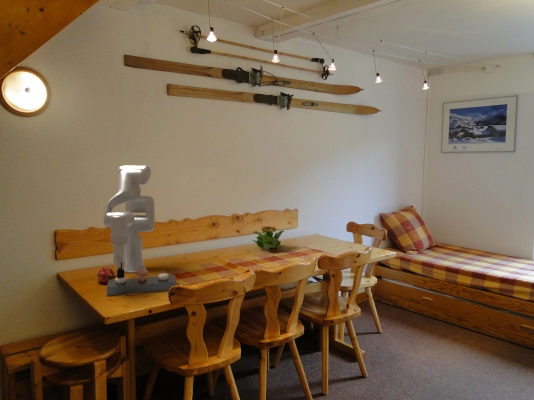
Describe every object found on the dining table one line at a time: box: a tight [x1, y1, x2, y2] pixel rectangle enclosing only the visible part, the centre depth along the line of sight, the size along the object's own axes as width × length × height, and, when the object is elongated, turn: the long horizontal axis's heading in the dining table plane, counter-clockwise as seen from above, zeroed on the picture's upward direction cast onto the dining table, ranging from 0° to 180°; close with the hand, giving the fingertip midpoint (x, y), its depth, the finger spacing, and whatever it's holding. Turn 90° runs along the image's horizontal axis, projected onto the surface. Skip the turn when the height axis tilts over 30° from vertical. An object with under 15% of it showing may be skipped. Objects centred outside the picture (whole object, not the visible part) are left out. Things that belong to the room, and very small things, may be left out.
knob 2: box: [157, 272, 169, 281], centre depth 206 cm, size 5×5×6 cm
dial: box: [136, 268, 149, 282], centre depth 203 cm, size 5×5×6 cm
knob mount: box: [106, 274, 177, 297], centre depth 203 cm, size 12×32×4 cm, turn 106°
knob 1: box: [114, 275, 127, 284], centre depth 200 cm, size 5×5×6 cm
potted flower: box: [252, 225, 287, 253], centre depth 284 cm, size 25×24×18 cm
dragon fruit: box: [96, 266, 117, 285], centre depth 213 cm, size 8×8×12 cm
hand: (120, 277), depth 200 cm, fingers closed
